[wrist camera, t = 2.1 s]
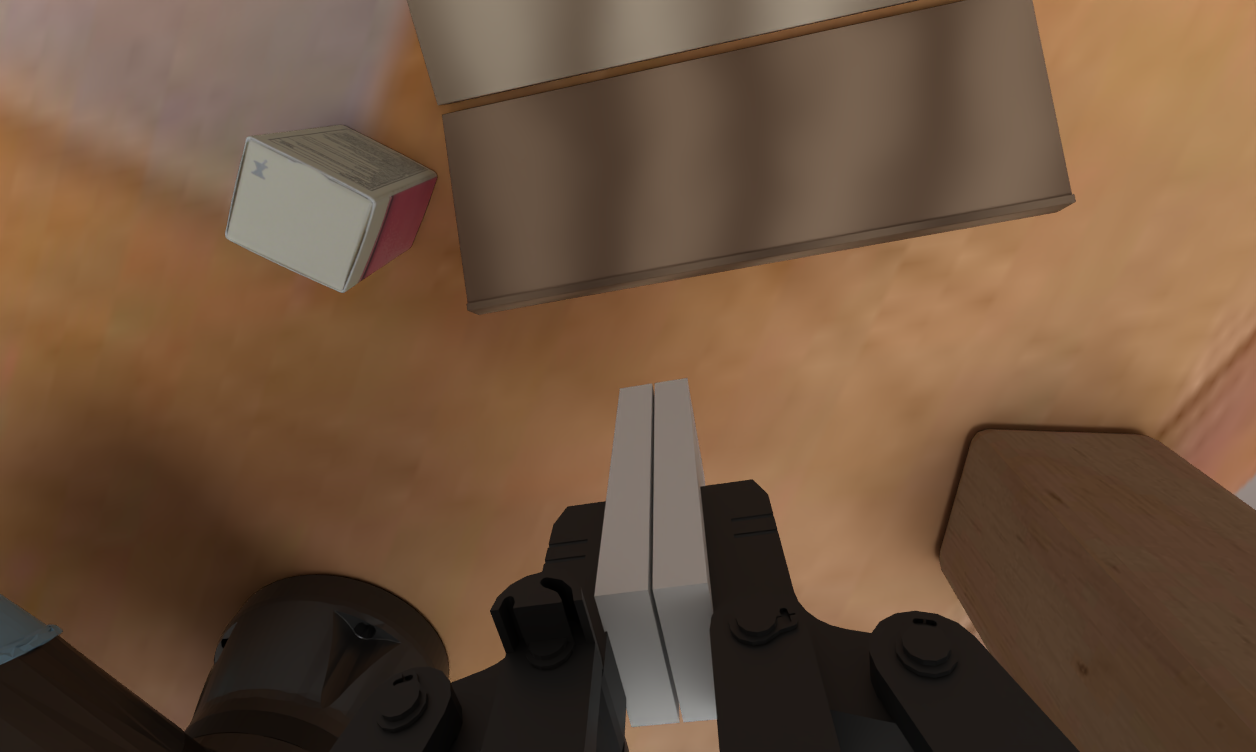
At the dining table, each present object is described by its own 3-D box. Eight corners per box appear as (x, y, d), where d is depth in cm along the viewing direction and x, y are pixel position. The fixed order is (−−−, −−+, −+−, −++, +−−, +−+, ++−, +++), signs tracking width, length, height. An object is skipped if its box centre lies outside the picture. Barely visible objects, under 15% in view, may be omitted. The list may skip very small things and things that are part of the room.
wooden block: (968, 421, 35) (1302, 785, 17) (1153, 427, 35) (1696, 805, 17) (929, 562, 39) (1162, 974, 21) (1093, 569, 39) (1474, 993, 21)
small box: (317, 203, 31) (217, 239, 24) (342, 120, 30) (242, 133, 23) (413, 250, 32) (343, 298, 25) (442, 173, 31) (376, 200, 23)
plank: (478, 314, 29) (467, 310, 28) (452, 126, 30) (440, 113, 28) (1056, 212, 26) (1075, 201, 25) (1015, 5, 27) (1031, -16, 25)
